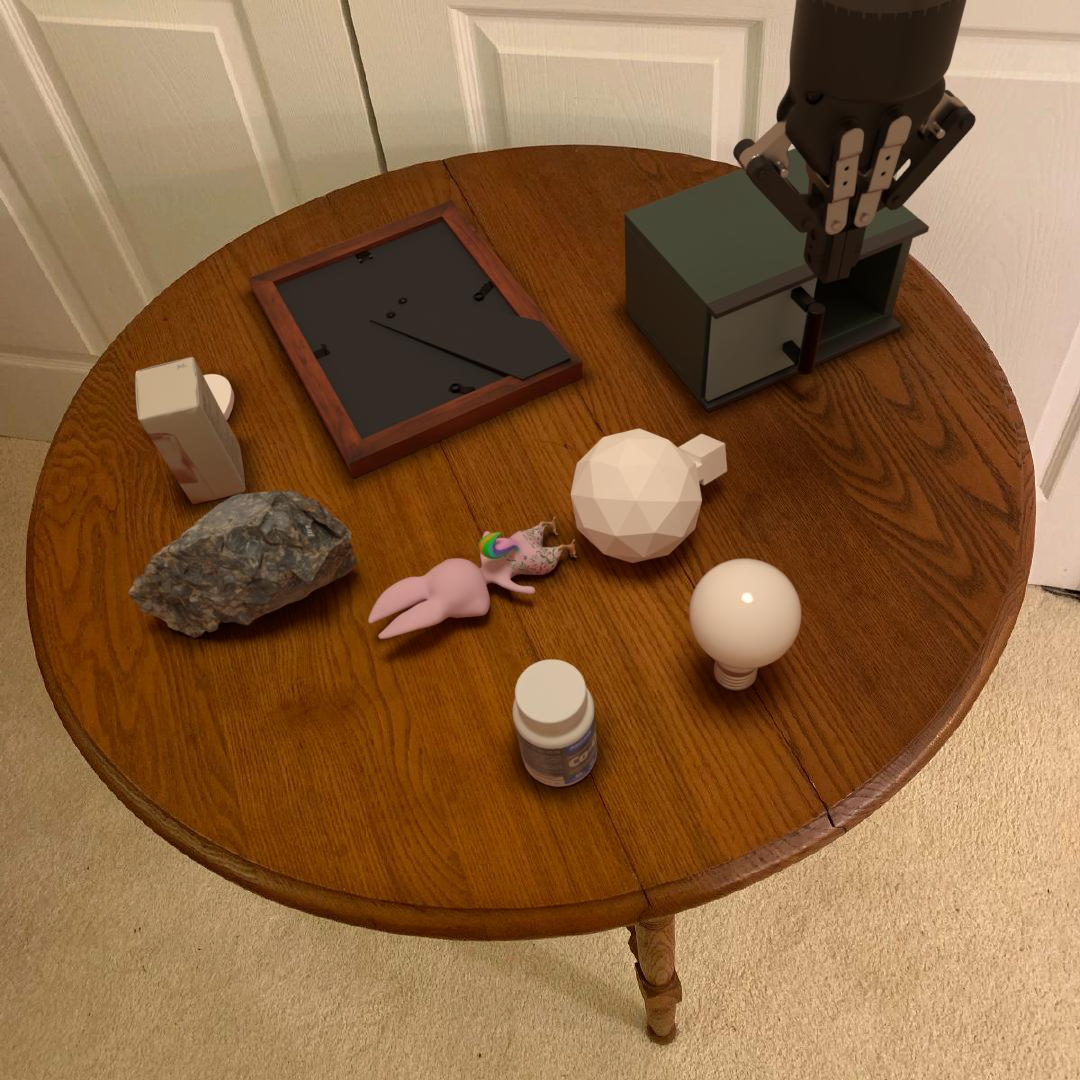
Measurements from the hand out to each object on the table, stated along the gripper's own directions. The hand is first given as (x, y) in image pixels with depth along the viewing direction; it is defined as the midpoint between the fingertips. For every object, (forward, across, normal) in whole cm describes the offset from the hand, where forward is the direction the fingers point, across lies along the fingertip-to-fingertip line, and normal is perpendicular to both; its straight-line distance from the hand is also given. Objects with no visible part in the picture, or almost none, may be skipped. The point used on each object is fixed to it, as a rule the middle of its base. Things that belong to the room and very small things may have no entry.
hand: (829, 271), depth 59 cm
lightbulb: (+18, -10, -15) cm, 26 cm away
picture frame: (+18, -24, +24) cm, 39 cm away
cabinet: (+18, +4, +16) cm, 24 cm away
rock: (+18, -39, +1) cm, 43 cm away
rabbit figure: (+18, -25, -3) cm, 31 cm away
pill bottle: (+18, -23, -16) cm, 33 cm away
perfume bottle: (+18, -11, -2) cm, 21 cm away
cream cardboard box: (+18, -42, +14) cm, 47 cm away
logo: (+18, -43, +22) cm, 51 cm away
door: (+17, +1, +7) cm, 19 cm away
